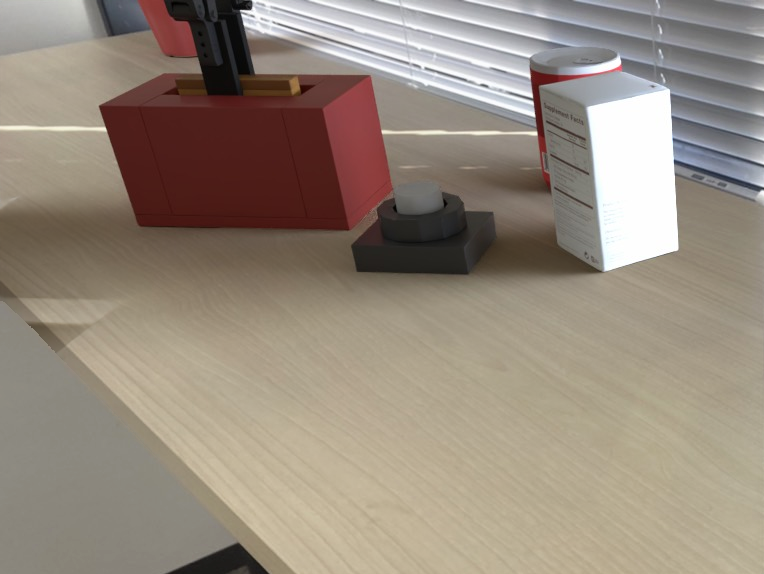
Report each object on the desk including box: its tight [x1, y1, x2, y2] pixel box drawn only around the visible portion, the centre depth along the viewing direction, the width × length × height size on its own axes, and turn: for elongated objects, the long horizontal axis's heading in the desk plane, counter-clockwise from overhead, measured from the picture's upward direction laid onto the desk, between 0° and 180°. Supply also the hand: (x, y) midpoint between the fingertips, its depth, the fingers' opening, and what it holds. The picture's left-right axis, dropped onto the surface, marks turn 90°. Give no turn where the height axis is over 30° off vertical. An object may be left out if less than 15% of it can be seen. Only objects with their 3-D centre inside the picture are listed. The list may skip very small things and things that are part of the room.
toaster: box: [98, 72, 394, 231], centre depth 100 cm, size 19×10×10 cm, turn 84°
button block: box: [350, 191, 498, 276], centre depth 92 cm, size 9×8×4 cm
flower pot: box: [137, 0, 198, 58], centre depth 150 cm, size 11×11×10 cm
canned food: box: [528, 46, 623, 190], centre depth 103 cm, size 8×8×11 cm
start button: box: [392, 180, 444, 215], centre depth 90 cm, size 4×4×2 cm
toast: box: [175, 73, 301, 97], centre depth 99 cm, size 10×2×10 cm, turn 84°
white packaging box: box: [539, 70, 679, 273], centre depth 89 cm, size 7×7×13 cm
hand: (235, 99), depth 97 cm, fingers open, 2 cm apart
